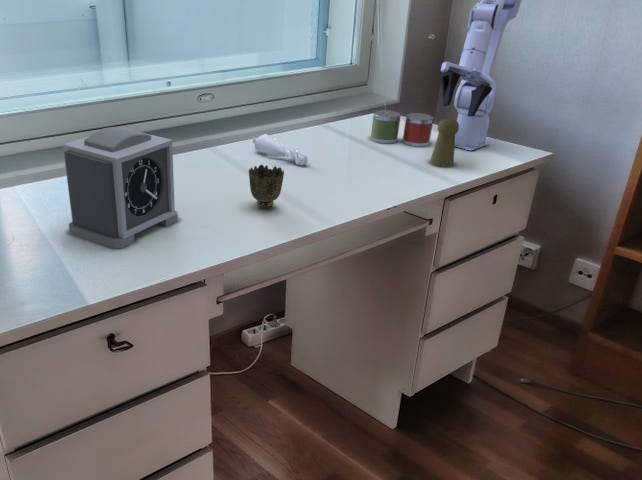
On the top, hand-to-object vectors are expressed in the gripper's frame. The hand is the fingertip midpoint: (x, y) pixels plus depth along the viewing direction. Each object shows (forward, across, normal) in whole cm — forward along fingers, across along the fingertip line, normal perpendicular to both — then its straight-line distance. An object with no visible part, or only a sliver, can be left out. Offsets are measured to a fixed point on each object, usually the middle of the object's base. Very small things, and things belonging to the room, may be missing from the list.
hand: (458, 110), depth 167 cm
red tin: (+3, +5, +25) cm, 26 cm away
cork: (+11, +4, +9) cm, 15 cm away
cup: (+37, -45, -7) cm, 58 cm away
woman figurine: (+20, -34, +22) cm, 45 cm away
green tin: (+4, -3, +30) cm, 30 cm away
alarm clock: (+49, -73, -10) cm, 88 cm away
